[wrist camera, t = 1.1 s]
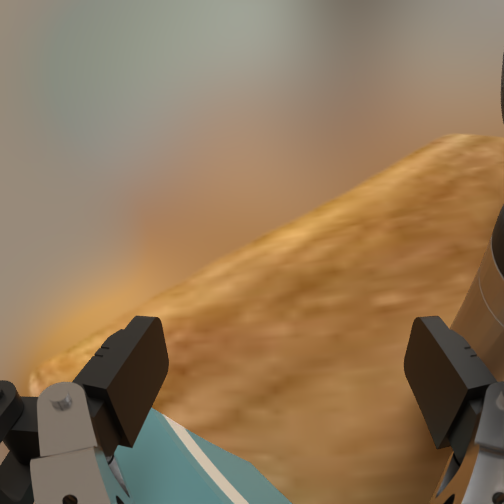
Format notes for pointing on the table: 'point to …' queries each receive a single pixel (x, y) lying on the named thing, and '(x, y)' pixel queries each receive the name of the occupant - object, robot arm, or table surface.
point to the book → (189, 469)
